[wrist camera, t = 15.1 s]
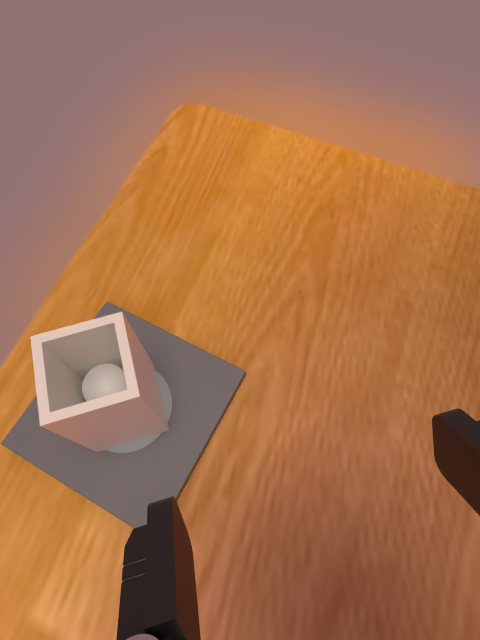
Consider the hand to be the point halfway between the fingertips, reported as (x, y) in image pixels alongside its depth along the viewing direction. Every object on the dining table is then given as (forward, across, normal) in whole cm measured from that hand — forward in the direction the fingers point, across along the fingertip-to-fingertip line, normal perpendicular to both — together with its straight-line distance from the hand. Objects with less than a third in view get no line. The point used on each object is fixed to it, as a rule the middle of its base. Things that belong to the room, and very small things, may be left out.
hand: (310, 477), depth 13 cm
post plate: (+22, +9, +8) cm, 25 cm away
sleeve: (+21, +9, +8) cm, 24 cm away
